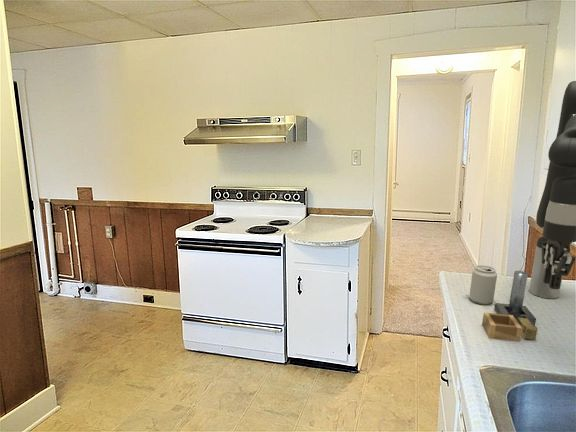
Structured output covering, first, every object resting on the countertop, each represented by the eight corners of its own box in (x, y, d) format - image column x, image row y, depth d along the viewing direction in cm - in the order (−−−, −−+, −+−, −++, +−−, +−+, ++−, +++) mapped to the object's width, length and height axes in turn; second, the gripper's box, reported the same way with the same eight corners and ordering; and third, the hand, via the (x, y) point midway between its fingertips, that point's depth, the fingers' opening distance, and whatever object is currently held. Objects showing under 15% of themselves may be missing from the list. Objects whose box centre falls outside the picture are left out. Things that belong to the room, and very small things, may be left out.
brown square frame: (482, 324, 124) (483, 312, 123) (510, 327, 122) (512, 315, 121) (489, 337, 116) (491, 325, 115) (520, 341, 114) (522, 328, 113)
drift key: (515, 326, 122) (517, 315, 121) (526, 327, 122) (528, 316, 121) (524, 338, 116) (526, 327, 115) (535, 339, 115) (537, 328, 114)
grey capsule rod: (505, 314, 130) (512, 270, 127) (517, 315, 130) (525, 271, 126) (509, 319, 127) (516, 274, 123) (521, 321, 126) (529, 275, 123)
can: (491, 307, 135) (496, 273, 132) (467, 302, 139) (471, 268, 136) (494, 299, 141) (499, 266, 138) (470, 294, 145) (475, 262, 142)
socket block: (494, 309, 133) (495, 302, 133) (524, 312, 132) (525, 305, 131) (502, 323, 125) (503, 315, 124) (534, 326, 123) (536, 318, 123)
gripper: (595, 228, 93) (580, 298, 97) (566, 215, 107) (555, 277, 111) (558, 226, 95) (546, 295, 99) (535, 213, 108) (525, 274, 112)
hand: (551, 285), depth 105 cm, fingers open, 3 cm apart
